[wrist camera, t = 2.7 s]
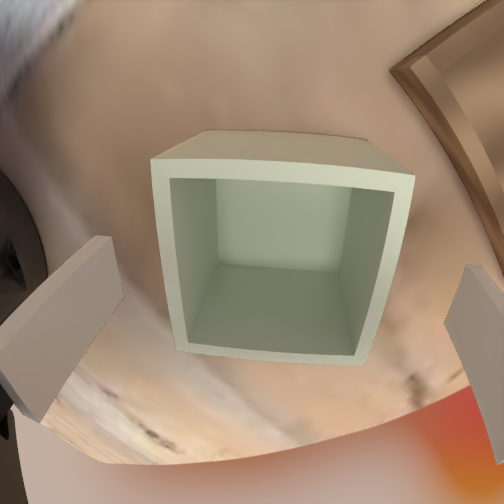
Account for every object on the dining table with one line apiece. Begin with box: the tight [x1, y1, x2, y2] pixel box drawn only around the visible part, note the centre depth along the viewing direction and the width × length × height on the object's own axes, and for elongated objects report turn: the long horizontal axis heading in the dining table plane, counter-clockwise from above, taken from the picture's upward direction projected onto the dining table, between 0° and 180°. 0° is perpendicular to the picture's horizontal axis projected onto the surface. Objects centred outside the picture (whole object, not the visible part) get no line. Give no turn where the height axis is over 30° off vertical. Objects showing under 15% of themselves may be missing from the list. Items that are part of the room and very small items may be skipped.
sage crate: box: [150, 130, 416, 366], centre depth 14 cm, size 8×8×7 cm
